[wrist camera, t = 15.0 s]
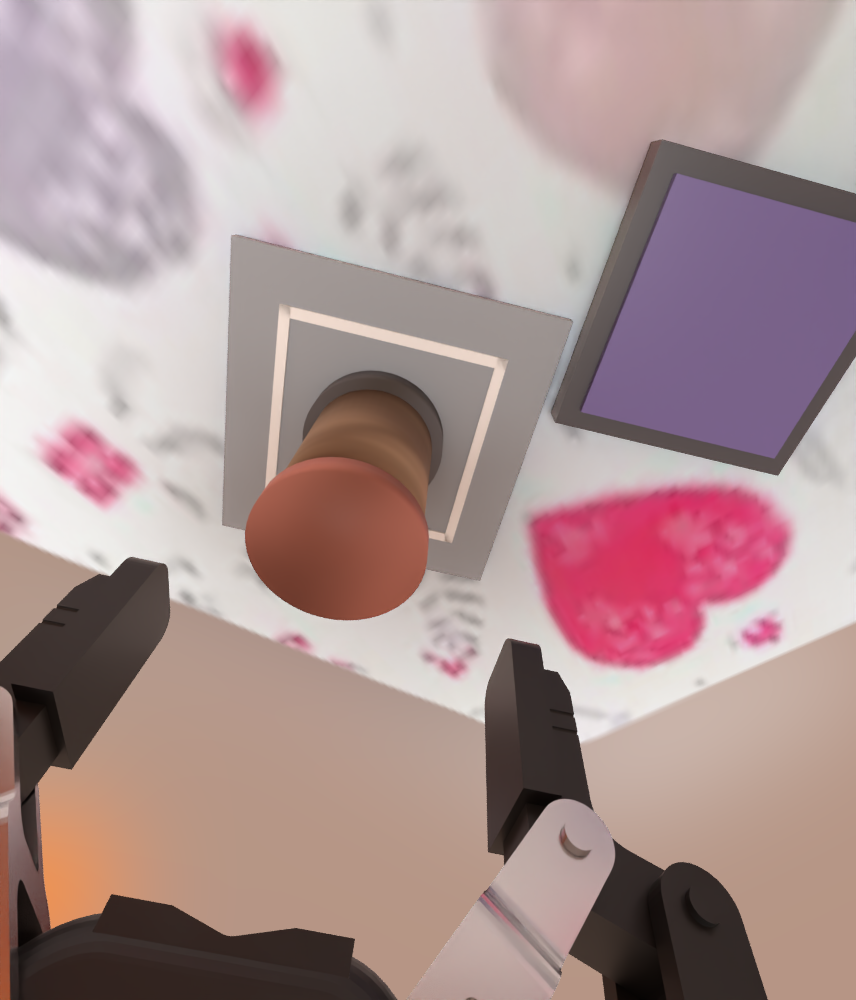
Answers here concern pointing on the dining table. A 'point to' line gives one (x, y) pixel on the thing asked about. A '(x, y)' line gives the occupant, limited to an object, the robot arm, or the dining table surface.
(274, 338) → the grey square plate
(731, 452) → the ink pad
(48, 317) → the dining table surface
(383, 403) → the stamp
